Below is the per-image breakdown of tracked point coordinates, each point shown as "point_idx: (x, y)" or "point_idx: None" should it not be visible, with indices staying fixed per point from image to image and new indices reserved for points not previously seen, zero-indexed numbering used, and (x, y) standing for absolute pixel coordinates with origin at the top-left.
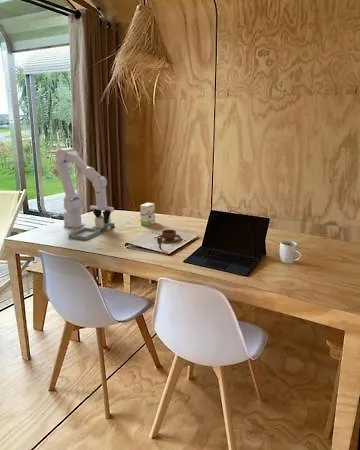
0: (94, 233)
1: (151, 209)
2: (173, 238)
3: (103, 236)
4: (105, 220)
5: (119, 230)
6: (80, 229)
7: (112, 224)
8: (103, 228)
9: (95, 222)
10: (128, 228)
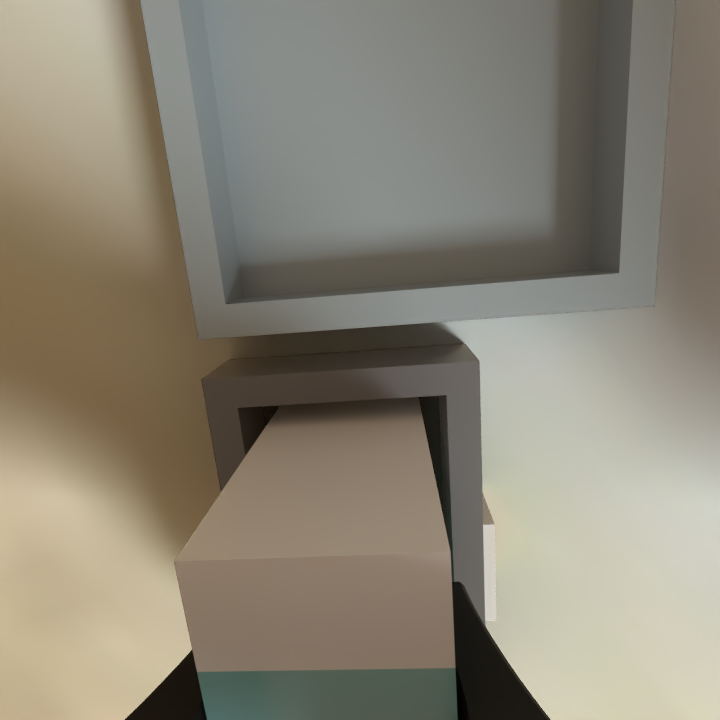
0: (164, 73)
1: None
2: None
3: (33, 164)
4: None
5: (62, 554)
6: (660, 108)
7: None
8: (211, 421)
9: (422, 474)
10: (24, 674)
